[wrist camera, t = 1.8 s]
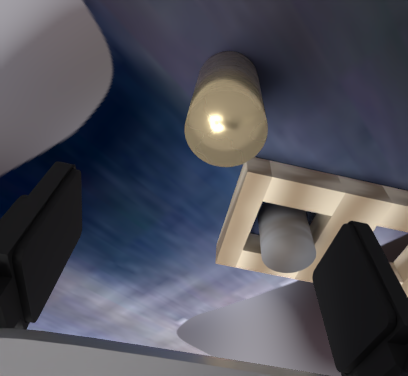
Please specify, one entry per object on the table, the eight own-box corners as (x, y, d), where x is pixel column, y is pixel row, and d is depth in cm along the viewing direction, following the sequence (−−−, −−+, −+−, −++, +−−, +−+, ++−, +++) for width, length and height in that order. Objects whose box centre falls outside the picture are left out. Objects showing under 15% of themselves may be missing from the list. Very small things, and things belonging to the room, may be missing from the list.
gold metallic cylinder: (266, 59, 23) (279, 102, 16) (248, 117, 25) (253, 174, 19) (204, 44, 22) (192, 82, 16) (192, 104, 25) (178, 157, 18)
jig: (467, 204, 28) (506, 245, 24) (398, 281, 35) (419, 324, 31) (246, 155, 27) (248, 190, 23) (216, 244, 34) (214, 284, 30)
